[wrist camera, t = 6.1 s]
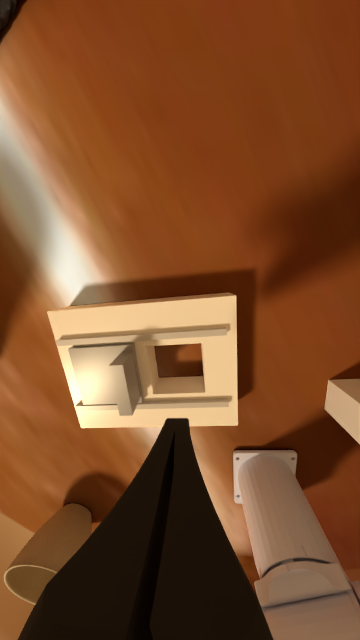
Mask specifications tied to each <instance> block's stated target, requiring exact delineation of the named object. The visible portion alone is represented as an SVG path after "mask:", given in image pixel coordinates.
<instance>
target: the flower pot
mask: <svg viewBox="0 0 360 640" xmlns="http://www.w3.org/2000/svg"><path fill="white" fill-rule="evenodd" d="M91 525H92V521H91V513H90V511H89V510H88V509H87V508H86V507H84V506H82V505H79V504H67V505H65V506H64V507H63V508H61V509H60V510H59V511H58V512H57V513H55V514H54V515H53V516H52V517H51V518H50V519H49V520H48V521H47V522H46V523H45V524H44V525H43V526H42V527H41V528H40V529H39V530H38V531H37V532H36V533H35V535H34V536H33V537H32V538H31V539H30V540H29V541H28V543H27V544H26V545H25V546H24V548H23V549H22V550H21V551H20V553H19V554H18V555H17V557H16V558H15V559H14V561H13V562H12V563H11V565H10V566H9V568H8V569H7V570H6V572H5V574H4V582H5V584H6V586H7V587H8V589H10V591H11V592H13V593H14V594H15V595H16V596H18V597H19V598H21V599H23V600H25V601H27V602H29V603H33V604H36V603H37V601H38V599H39V597H40V595H41V594H42V592H43V590H44V588H45V586H46V584H47V583H48V582H49V581H50V580H51V579H52V578H53V577H54V576H55V574H56V573H57V572H58V571H59V570H60V569H61V568H62V567H63V566H64V565H65V564H66V562H67V561H68V560H69V559H70V558H71V557H72V556H73V555H74V554H75V553H76V552H77V551H78V549H79V548H80V547H81V546H82V545H83V544H84V543H85V541H86V540H87V539H88V538H89V537H90V535H91Z"/></svg>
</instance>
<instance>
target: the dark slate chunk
mask: <svg viewBox="0 0 360 640" xmlns="http://www.w3.org/2000/svg"><path fill="white" fill-rule="evenodd" d="M16 3H17V0H0V30H1V29H3V28H4V27H5V26H6V25H7V24H8V20H9V13H11V14H15V8H16Z"/></svg>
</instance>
